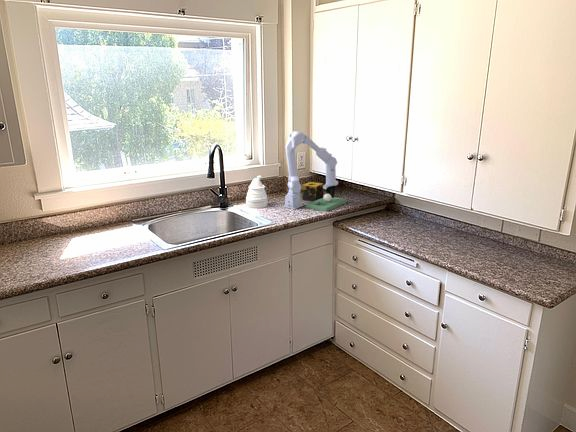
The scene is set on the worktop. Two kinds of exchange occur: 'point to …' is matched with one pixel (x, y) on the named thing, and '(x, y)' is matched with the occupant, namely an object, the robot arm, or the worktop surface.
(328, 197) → the ball
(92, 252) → the worktop surface
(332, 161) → the robot arm
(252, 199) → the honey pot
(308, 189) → the yellow cube with hole
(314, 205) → the green mat
